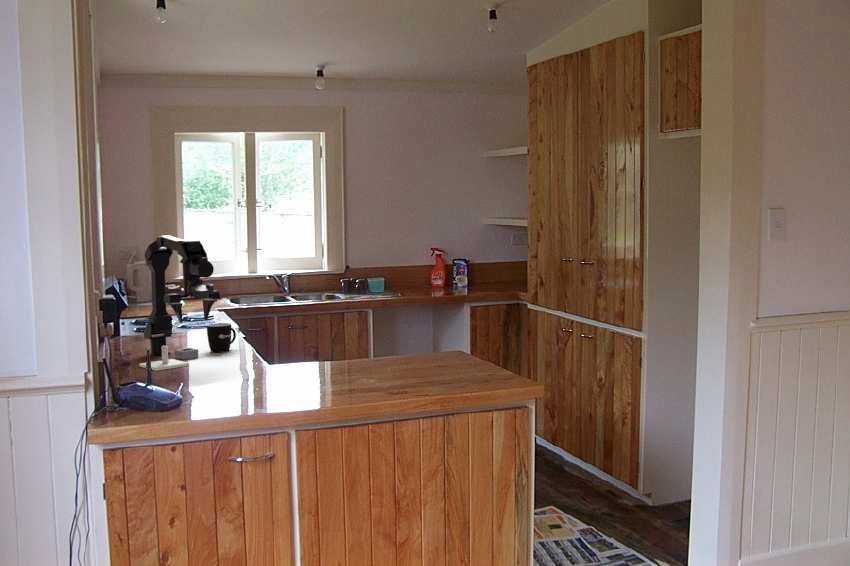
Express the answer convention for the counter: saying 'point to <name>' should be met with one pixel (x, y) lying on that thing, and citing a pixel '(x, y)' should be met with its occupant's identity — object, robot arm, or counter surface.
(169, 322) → the robot arm
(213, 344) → the mug
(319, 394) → the counter surface
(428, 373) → the counter surface
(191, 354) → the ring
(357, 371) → the counter surface
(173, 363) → the peg board
